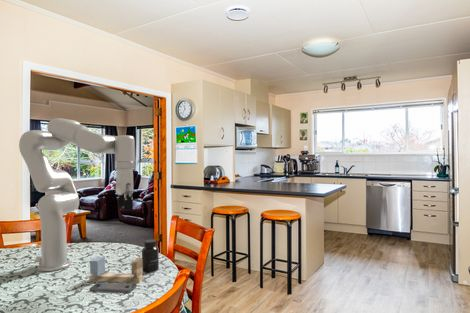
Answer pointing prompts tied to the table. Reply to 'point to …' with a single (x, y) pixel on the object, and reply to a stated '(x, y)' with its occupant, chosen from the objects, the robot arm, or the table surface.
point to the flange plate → (113, 287)
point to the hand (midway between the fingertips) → (125, 208)
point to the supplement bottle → (150, 256)
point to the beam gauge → (131, 278)
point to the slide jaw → (97, 267)
